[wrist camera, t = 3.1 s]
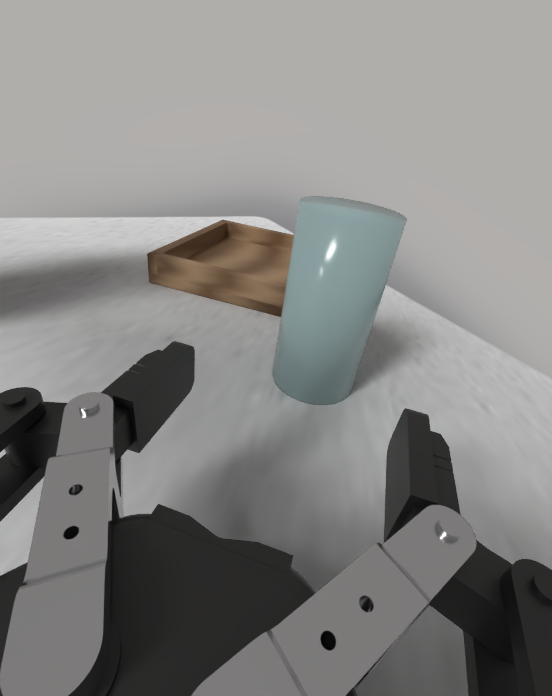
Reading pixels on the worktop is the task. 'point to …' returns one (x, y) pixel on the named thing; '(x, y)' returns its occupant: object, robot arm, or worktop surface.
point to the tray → (227, 265)
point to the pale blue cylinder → (332, 295)
